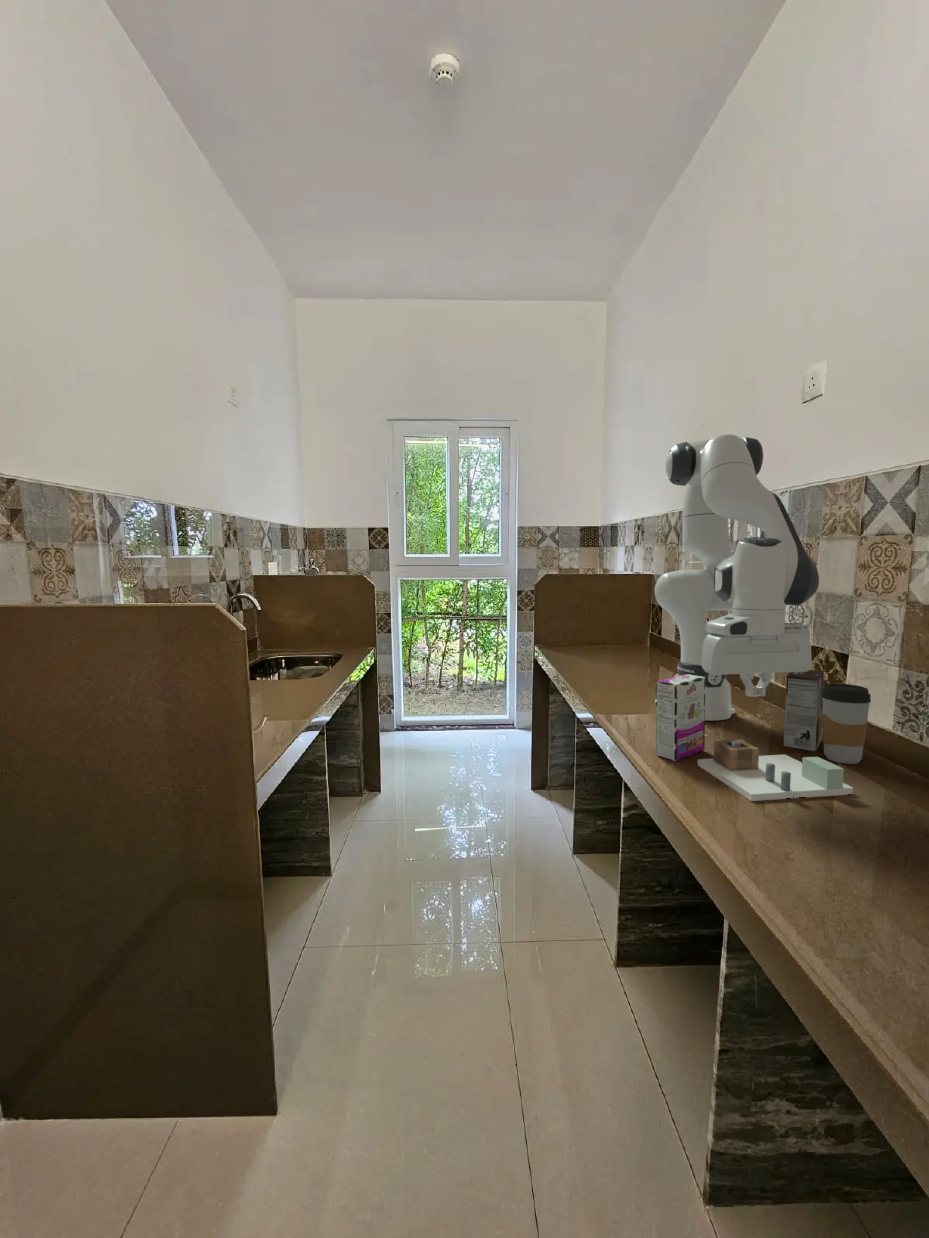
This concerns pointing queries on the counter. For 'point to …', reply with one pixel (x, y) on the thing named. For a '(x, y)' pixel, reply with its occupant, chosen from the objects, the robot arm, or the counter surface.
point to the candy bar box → (680, 716)
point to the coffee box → (803, 710)
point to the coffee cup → (844, 721)
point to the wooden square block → (736, 755)
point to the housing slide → (822, 772)
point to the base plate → (770, 779)
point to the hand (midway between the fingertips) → (755, 695)
